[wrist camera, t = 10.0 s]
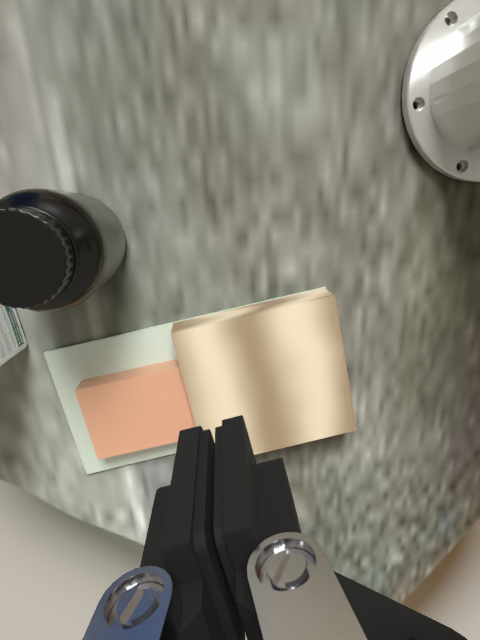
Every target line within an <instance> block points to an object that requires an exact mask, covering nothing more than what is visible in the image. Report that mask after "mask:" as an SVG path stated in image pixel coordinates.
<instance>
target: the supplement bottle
mask: <svg viewBox="0 0 480 640" xmlns="http://www.w3.org/2000/svg"><path fill="white" fill-rule="evenodd" d="M125 249H126V240H125V234H124V230H123V228H122V225H121V223H120V221H119V219H118V218H117V216H116V215H115V214H114V213H113V211H112V210H111V209H110V208H109V207H108V206H106V205H105V204H104V203H102V202H101V201H99V200H97V199H95V198H93V197H90V196H87V195H83V194H79V193H71V192H64V191H56V190H48V189H26V190H20V191H17V192H14V193H11V194H9V195H7V196H5V197H3V198H2V199H0V304H1V305H3V306H10V307H12V308H18V307H20V308H23V309H28V310H32V311H38V312H56V311H61V310H65V309H68V308H71V307H73V306H75V305H77V304H79V303H81V302H82V301H84V300H85V299H86V298H88V297H89V296H90V295H91V294H92V293H94V292H95V291H96V290H97V289H98V288H100V287H101V286H102V285H103V284H104V283H106V282H107V281H108V280H109V279H110V278H111V277H112V276H113V275H114V274H115V273H116V272H117V271H118V269H119V267H120V266H121V264H122V261H123V259H124V255H125Z"/></svg>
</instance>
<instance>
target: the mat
mask: <svg viewBox="0 0 480 640" xmlns="http://www.w3.org/2000/svg"><path fill="white" fill-rule="evenodd" d="M321 288H325V289H326V287H321ZM321 288H317V289H321ZM317 289H313V290H317ZM313 290H308V291H313ZM326 290H327V289H326ZM308 291H304V292H308ZM304 292H300V293H304ZM300 293H296V294H300ZM291 295H295V294H291ZM291 295H287V296H291ZM287 296H283V297H287ZM278 298H282V297H278ZM278 298H274V299H278ZM274 299H270V300H274ZM265 301H269V300H265ZM265 301H261V302H265ZM261 302H257V303H261ZM257 303H252V304H257ZM252 304H248V305H252ZM248 305H244V306H248ZM244 306H240V307H244ZM235 308H239V307H235ZM235 308H231V309H235ZM231 309H227V310H231ZM222 311H226V310H222ZM222 311H218V312H222ZM218 312H214V313H218ZM209 314H213V313H209ZM209 314H205V315H209ZM205 315H201V316H205ZM201 316H196V317H201ZM196 317H192V318H196ZM192 318H188V319H192ZM188 319H184V320H188ZM179 321H183V320H179ZM179 321H175V322H179ZM175 322H171V323H166V324H162V325H158V326H153V327H149V328H145V329H140V330H136V331H132V332H128V333H123V334H119V335H115V336H110V337H106V338H102V339H97V340H93V341H89V342H84V343H80V344H76V345H72V346H67V347H63V348H59V349H54V350H50V351H46V352H44V353H43V354H44V356H45V359H46V362H47V365H48V368H49V370H50V373H51V376H52V379H53V381H54V384H55V387H56V390H57V393H58V395H59V398H60V401H61V404H62V406H63V409H64V412H65V415H66V418H67V420H68V423H69V426H70V429H71V431H72V434H73V437H74V440H75V442H76V445H77V448H78V451H79V454H80V456H81V459H82V462H83V465H84V467H85V470H86V473H87V474H91V473H95V472H99V471H103V470H108V469H112V468H116V467H120V466H124V465H128V464H133V463H137V462H141V461H145V460H149V459H153V458H158V457H162V456H166V455H170V454H174V453H176V450H177V443H178V442H174V443H170V444H165V445H161V446H157V447H152V448H148V449H143V450H139V451H135V452H130V453H126V454H122V455H117V456H113V457H108V458H104V459H100V460H98V458H97V455H96V452H95V449H94V446H93V443H92V441H91V438H90V435H89V432H88V429H87V426H86V423H85V420H84V417H83V414H82V411H81V408H80V405H79V402H78V399H77V396H76V393H75V389H76V388H77V386H78V385H79V383H80V382H81V381H82V380H84V379H89V378H93V377H98V376H102V375H107V374H111V373H116V372H120V371H125V370H129V369H134V368H138V367H143V366H147V365H152V364H156V363H161V362H165V361H170V360H174V359H177V355H176V352H175V348H174V344H173V341H172V337H171V330H172V326H173V323H175Z"/></svg>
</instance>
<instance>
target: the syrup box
mask: <svg viewBox="0 0 480 640" xmlns="http://www.w3.org/2000/svg"><path fill="white" fill-rule="evenodd" d="M27 345H28V343H27V341H26V338H25V336H24V333H23V330H22V328H21V324H20V321H19V318H18V316H17V313H16V310H15V308H12V307H10V306H3V305H1V304H0V366H2V365H3V364H4V363H6V362H7V361H8V360H9V359H11V358H12V357H13V356H15V355H16V354H18V353H19V352H20V351H22V350H23V349H24V348H26V346H27Z"/></svg>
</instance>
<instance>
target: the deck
mask: <svg viewBox="0 0 480 640" xmlns="http://www.w3.org/2000/svg"><path fill="white" fill-rule="evenodd" d="M171 337H172V341H173V344H174V348H175V352H176V355H177V359H178V363H179V366H180V370H181V374H182V377H183V381H184V385H185V388H186V392H187V396H188V399H189V403H190V407H191V410H192V414H193V418H194V421H195V425H196V427H197V426H201V427H202V428H203V430H207V429H210V431H211V433H212V436H213V439H214V442H215V428H216V427H219V426H222V420H224V419H228V418H232V417H236V416H240V415H242V416H243V418H244V421H245V424H246V428H247V431H248V435H249V439H250V442H251V446H252V449H253V453H254V455H256V454H260V453H264V452H268V451H273V450H277V449H281V448H285V447H289V446H293V445H297V444H302V443H306V442H310V441H314V440H318V439H322V438H326V437H331V436H335V435H339V434H343V433H347V432H351V431H355V430H357V429H356V423H355V416H354V410H353V404H352V398H351V392H350V385H349V379H348V373H347V367H346V361H345V355H344V348H343V342H342V336H341V330H340V324H339V317H338V311H337V305H336V299H335V295H333V294H332V293H330V292H329V291H328V290H326V289H325V288H321V289H317V290H313V291H308V292H304V293H300V294H295V295H291V296H287V297H282V298H278V299H274V300H269V301H265V302H261V303H257V304H252V305H248V306H244V307H239V308H235V309H231V310H226V311H222V312H218V313H213V314H209V315H205V316H201V317H196V318H192V319H188V320H183V321H179V322H175V323H173V326H172V330H171Z"/></svg>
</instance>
